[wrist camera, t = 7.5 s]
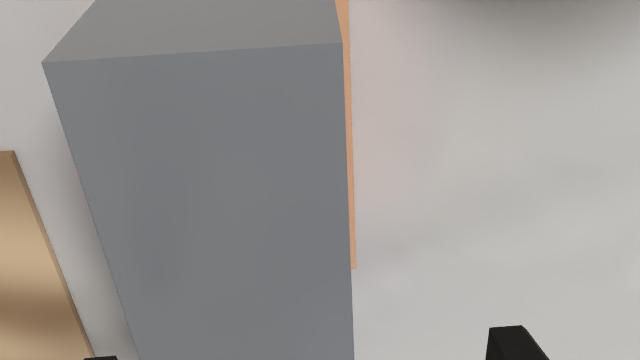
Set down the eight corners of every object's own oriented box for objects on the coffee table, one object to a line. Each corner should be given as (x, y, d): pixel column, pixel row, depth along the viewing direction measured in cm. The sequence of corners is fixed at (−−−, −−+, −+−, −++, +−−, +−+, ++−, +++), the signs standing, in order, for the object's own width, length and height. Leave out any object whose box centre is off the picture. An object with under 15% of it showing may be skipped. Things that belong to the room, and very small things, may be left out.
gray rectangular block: (343, 279, 20) (356, 413, 16) (189, 289, 20) (162, 427, 16) (328, -36, 14) (342, 42, 10) (114, -22, 14) (41, 62, 10)
